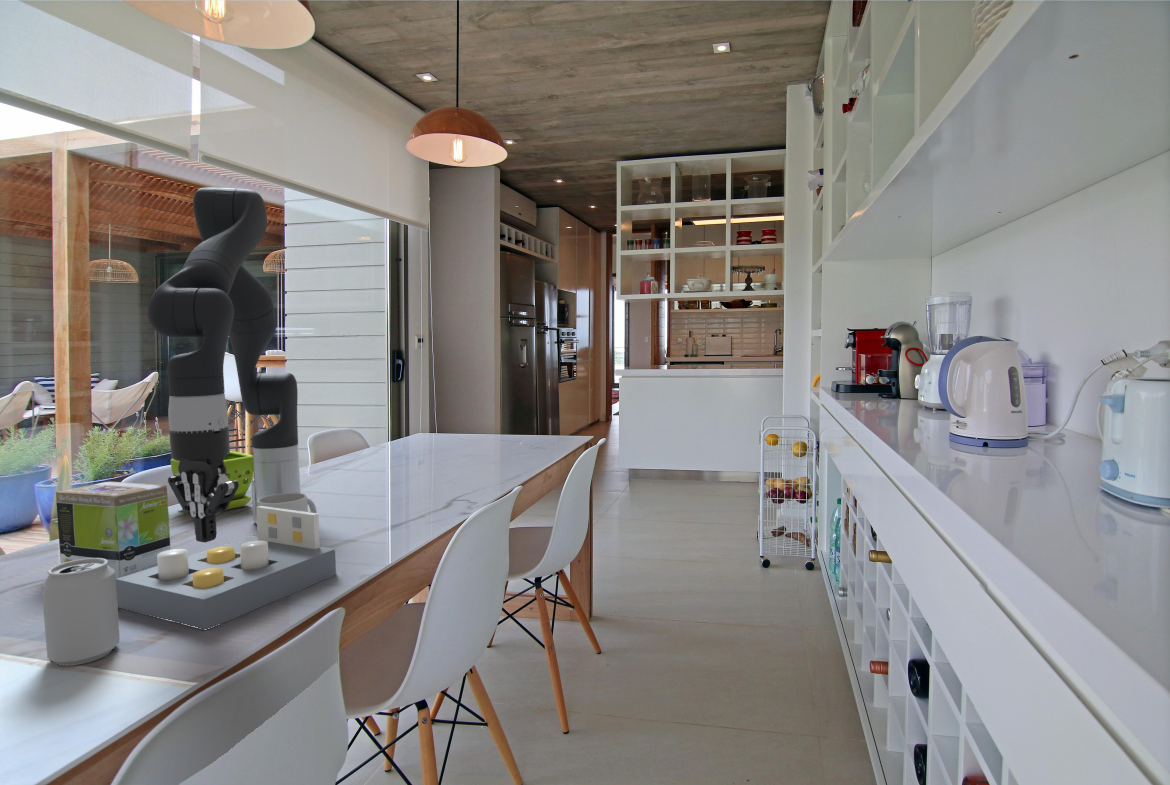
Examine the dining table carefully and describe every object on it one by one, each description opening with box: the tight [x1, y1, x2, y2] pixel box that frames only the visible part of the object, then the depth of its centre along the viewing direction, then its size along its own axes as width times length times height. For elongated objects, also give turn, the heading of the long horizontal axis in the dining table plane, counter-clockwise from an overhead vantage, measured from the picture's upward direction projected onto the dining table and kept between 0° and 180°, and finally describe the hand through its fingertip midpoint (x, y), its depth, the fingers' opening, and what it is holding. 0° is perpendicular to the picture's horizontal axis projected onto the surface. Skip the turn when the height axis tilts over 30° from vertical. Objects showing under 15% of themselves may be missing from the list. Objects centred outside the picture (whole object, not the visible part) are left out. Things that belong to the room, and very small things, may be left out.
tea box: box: [55, 481, 172, 580], centre depth 118 cm, size 15×10×15 cm, turn 71°
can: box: [41, 558, 120, 667], centre depth 85 cm, size 8×8×12 cm
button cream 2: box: [240, 540, 269, 571], centre depth 106 cm, size 4×4×5 cm
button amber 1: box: [207, 546, 235, 565], centre depth 110 cm, size 4×4×5 cm
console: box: [115, 506, 337, 630], centre depth 107 cm, size 20×24×10 cm
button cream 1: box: [157, 548, 189, 581], centre depth 102 cm, size 4×4×5 cm
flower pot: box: [170, 450, 254, 511], centre depth 160 cm, size 14×14×13 cm
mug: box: [257, 492, 318, 514], centre depth 129 cm, size 11×10×10 cm
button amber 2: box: [193, 568, 224, 589], centre depth 99 cm, size 4×4×5 cm
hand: (206, 540), depth 99 cm, fingers closed
